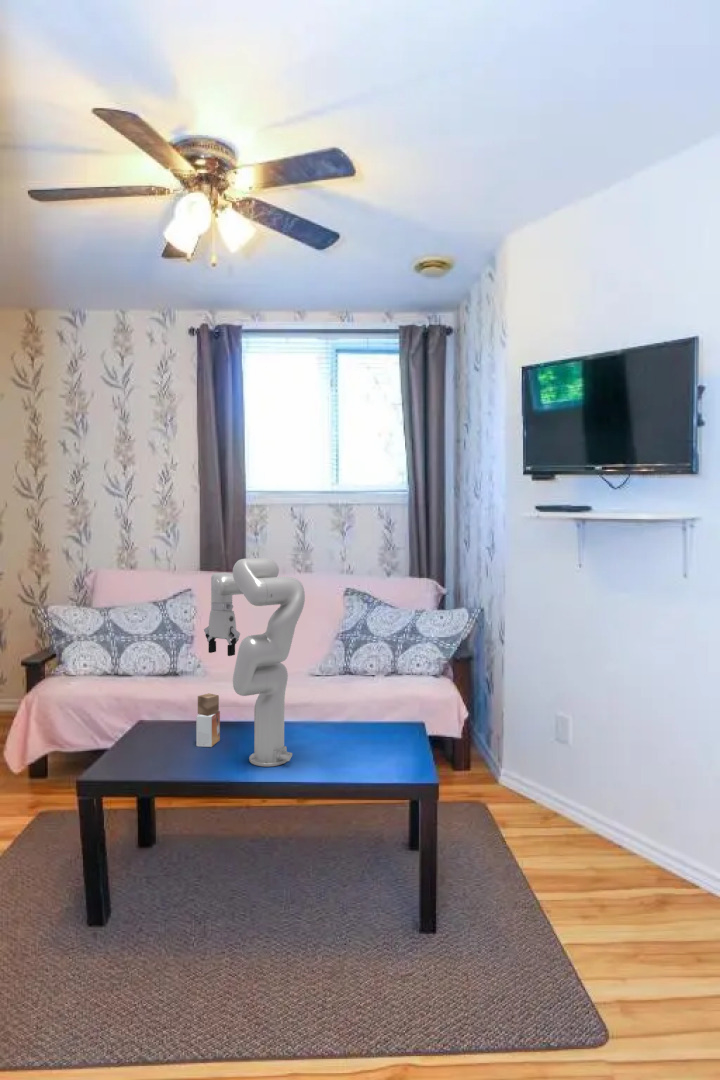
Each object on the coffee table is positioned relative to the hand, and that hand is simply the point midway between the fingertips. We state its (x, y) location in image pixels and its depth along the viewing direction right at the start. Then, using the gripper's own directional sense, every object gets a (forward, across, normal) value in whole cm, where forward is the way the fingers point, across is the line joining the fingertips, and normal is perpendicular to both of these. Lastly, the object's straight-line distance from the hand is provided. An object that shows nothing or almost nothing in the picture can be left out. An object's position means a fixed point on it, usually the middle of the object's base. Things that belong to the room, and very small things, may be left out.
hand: (221, 653), depth 243 cm
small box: (+29, -6, +12) cm, 32 cm away
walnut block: (+18, -6, +12) cm, 22 cm away
